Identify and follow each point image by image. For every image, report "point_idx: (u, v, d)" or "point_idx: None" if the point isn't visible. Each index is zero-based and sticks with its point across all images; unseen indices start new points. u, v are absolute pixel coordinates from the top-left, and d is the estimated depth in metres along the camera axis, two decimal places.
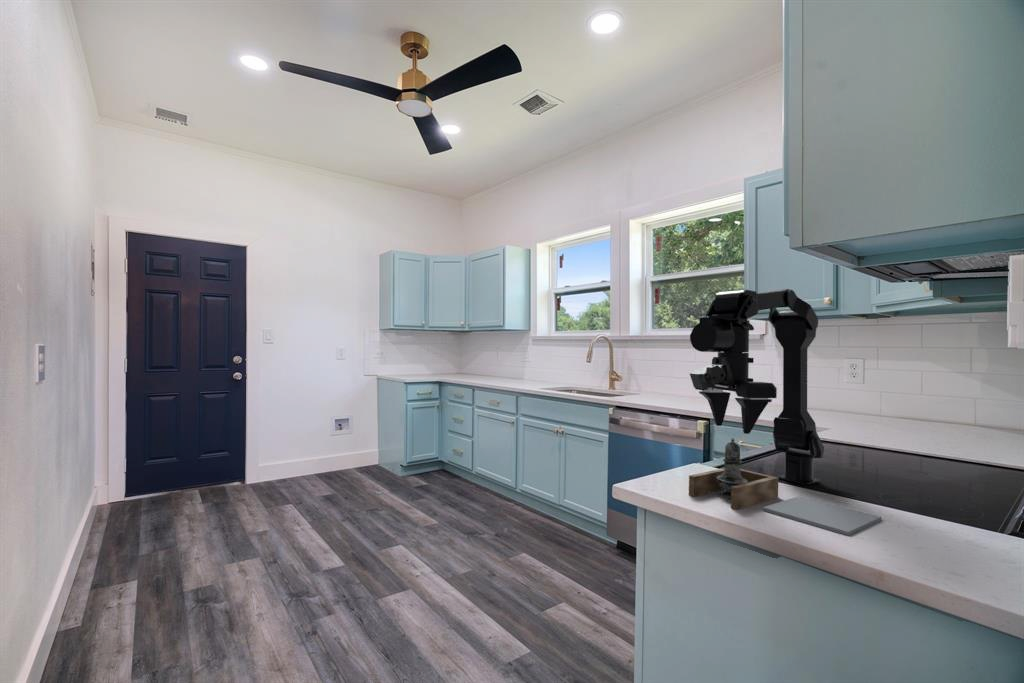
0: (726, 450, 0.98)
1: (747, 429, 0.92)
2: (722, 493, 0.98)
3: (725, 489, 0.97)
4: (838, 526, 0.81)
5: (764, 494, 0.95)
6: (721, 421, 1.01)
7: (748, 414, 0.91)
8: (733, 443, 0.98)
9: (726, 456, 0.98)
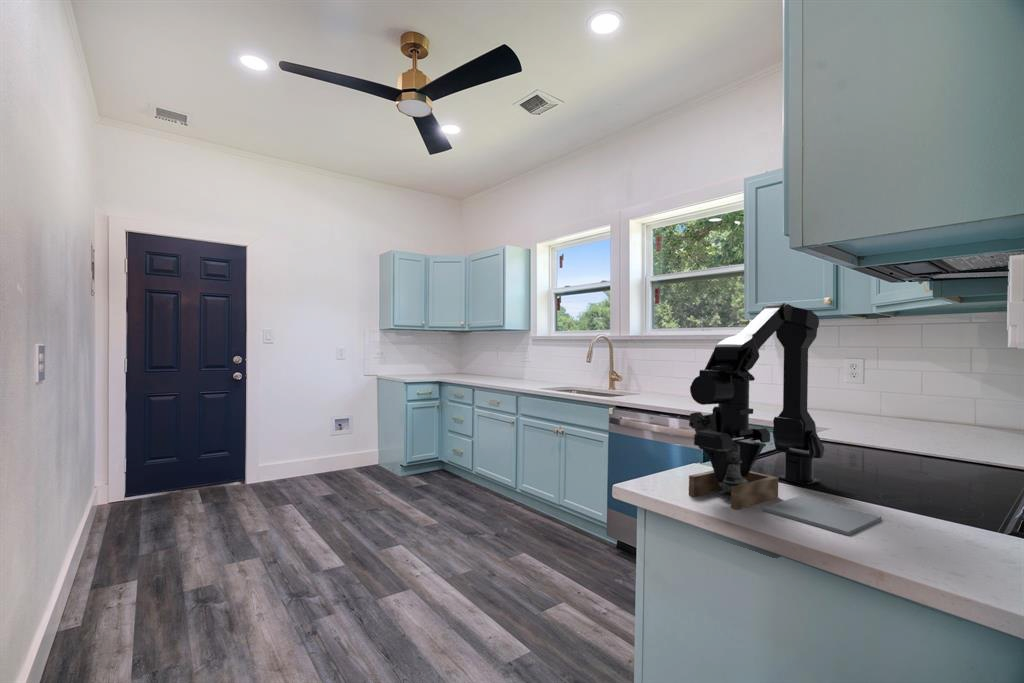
0: None
1: (717, 477, 0.96)
2: (722, 493, 0.98)
3: (725, 489, 0.97)
4: (838, 526, 0.81)
5: (764, 494, 0.95)
6: (745, 472, 1.00)
7: (714, 462, 0.95)
8: (733, 443, 0.98)
9: None
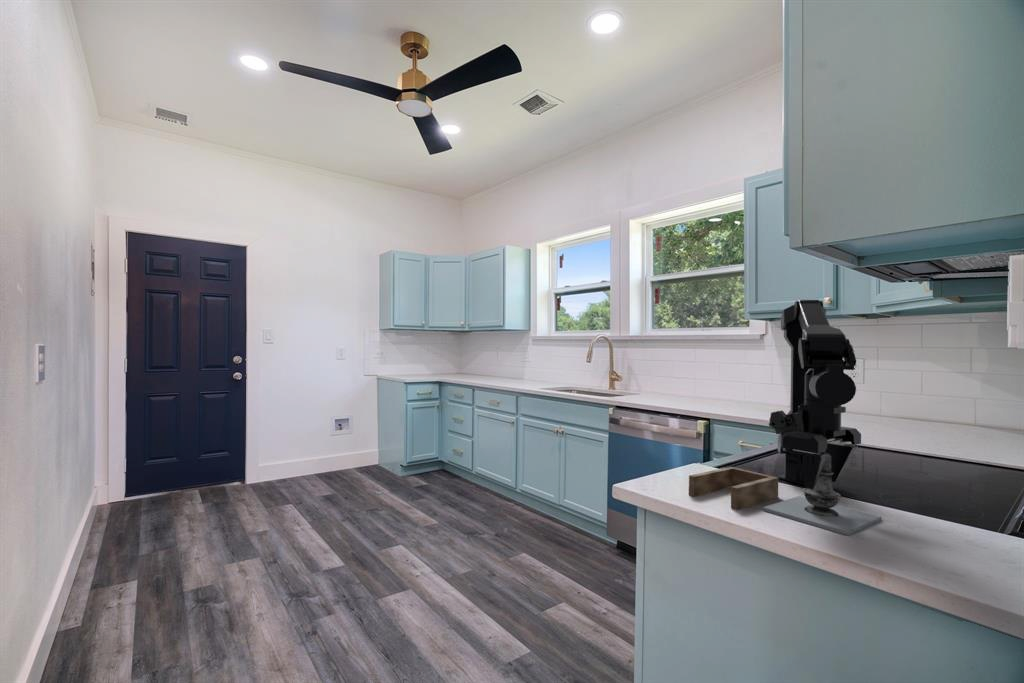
0: None
1: (807, 483, 0.85)
2: None
3: None
4: (838, 526, 0.81)
5: (764, 494, 0.95)
6: (834, 477, 0.90)
7: (803, 467, 0.85)
8: None
9: None
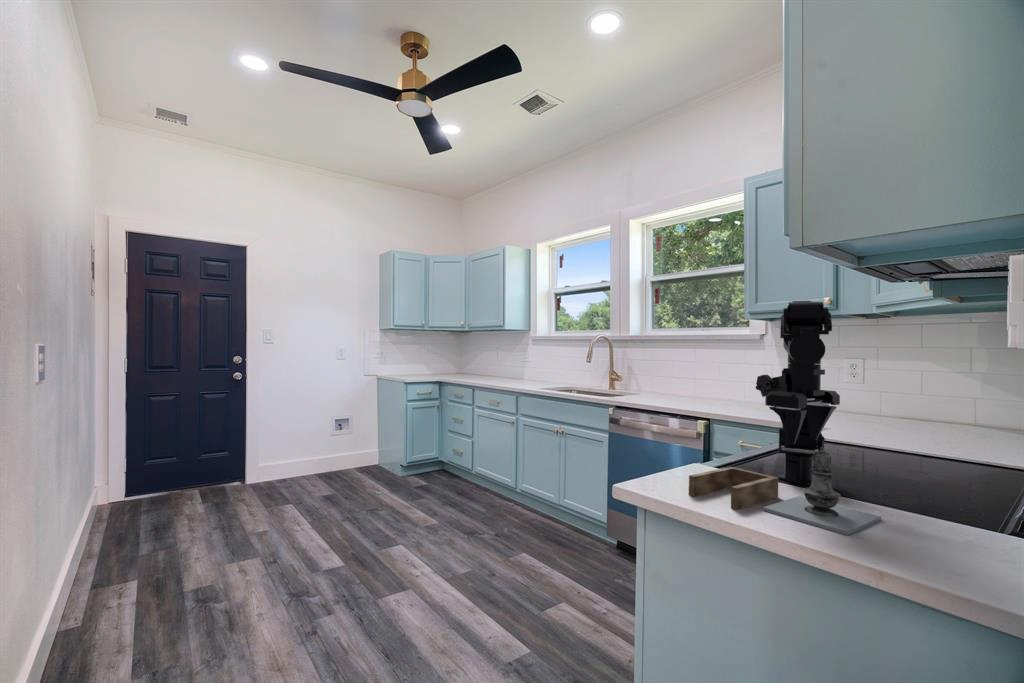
0: None
1: (789, 438, 0.94)
2: None
3: None
4: (838, 526, 0.81)
5: (764, 494, 0.95)
6: (815, 435, 0.98)
7: (785, 423, 0.94)
8: (818, 451, 0.88)
9: None
